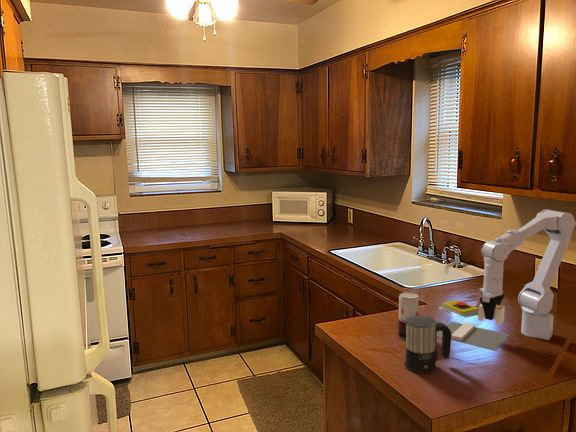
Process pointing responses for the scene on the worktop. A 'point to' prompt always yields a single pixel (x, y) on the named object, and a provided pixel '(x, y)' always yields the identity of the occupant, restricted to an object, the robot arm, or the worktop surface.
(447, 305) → the emergency button
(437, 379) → the worktop surface
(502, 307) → the block
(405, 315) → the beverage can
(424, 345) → the milk frother
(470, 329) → the rail panel
